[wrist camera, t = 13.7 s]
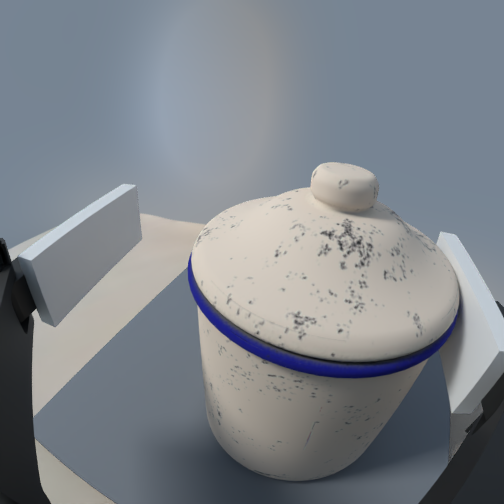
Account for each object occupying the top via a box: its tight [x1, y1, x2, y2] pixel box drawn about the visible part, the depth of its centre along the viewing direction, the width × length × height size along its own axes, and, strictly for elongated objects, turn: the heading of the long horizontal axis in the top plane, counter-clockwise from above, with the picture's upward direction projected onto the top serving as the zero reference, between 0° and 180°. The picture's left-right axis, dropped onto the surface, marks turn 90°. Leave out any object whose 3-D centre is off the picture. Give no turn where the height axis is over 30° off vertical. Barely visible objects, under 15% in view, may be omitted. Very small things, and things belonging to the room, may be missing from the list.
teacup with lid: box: [188, 162, 459, 481], centre depth 13 cm, size 12×9×12 cm
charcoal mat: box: [33, 267, 450, 504], centre depth 16 cm, size 20×18×1 cm
